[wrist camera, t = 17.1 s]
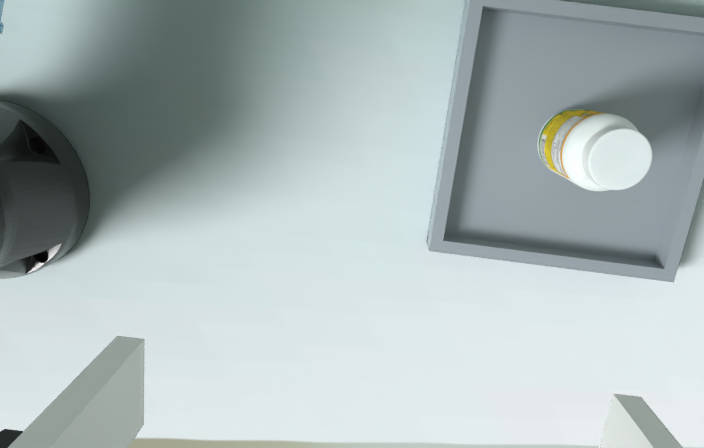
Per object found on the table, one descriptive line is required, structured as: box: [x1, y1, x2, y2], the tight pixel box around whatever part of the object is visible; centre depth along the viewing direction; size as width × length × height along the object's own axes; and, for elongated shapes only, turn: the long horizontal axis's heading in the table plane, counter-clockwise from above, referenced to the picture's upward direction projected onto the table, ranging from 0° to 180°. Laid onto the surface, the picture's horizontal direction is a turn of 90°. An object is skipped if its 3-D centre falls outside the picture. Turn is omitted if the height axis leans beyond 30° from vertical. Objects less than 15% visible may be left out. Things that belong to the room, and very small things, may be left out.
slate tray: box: [427, 0, 704, 282], centre depth 44 cm, size 20×20×2 cm
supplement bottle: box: [537, 109, 652, 191], centre depth 40 cm, size 5×5×10 cm
